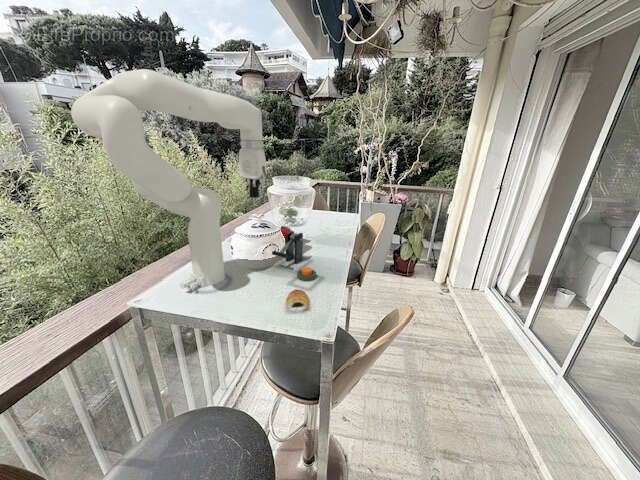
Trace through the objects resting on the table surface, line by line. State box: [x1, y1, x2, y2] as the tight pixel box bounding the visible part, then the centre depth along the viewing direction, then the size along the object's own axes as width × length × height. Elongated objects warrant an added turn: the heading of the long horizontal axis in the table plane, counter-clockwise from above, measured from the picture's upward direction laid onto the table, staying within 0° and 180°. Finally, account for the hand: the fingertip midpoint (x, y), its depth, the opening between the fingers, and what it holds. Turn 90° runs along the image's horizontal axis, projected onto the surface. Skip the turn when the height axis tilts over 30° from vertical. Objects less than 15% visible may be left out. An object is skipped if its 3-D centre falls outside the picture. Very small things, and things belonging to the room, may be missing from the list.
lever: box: [271, 232, 298, 259], centre depth 98 cm, size 12×6×2 cm, turn 152°
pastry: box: [286, 288, 310, 311], centre depth 79 cm, size 9×7×4 cm
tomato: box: [280, 225, 292, 242], centre depth 126 cm, size 9×9×8 cm
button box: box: [296, 268, 317, 283], centre depth 92 cm, size 10×8×3 cm
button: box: [301, 266, 313, 276], centre depth 92 cm, size 4×4×2 cm
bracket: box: [285, 230, 304, 265], centre depth 103 cm, size 12×9×13 cm
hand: (254, 196), depth 100 cm, fingers closed
